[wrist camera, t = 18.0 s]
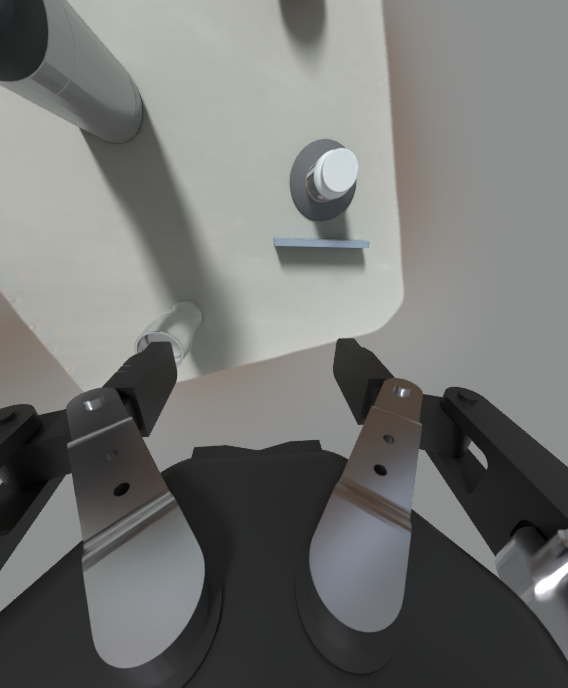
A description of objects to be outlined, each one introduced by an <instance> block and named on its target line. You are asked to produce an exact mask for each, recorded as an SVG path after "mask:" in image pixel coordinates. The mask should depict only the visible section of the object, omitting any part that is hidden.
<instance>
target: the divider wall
mask: <svg viewBox="0 0 568 688" xmlns="http://www.w3.org/2000/svg"><path fill="white" fill-rule="evenodd" d="M369 243H370V242H369V241H363V240H339V239H304V238H274V245H275V246H307V247H347V248H369Z"/></svg>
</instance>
